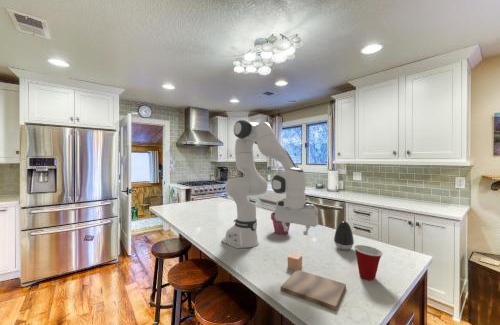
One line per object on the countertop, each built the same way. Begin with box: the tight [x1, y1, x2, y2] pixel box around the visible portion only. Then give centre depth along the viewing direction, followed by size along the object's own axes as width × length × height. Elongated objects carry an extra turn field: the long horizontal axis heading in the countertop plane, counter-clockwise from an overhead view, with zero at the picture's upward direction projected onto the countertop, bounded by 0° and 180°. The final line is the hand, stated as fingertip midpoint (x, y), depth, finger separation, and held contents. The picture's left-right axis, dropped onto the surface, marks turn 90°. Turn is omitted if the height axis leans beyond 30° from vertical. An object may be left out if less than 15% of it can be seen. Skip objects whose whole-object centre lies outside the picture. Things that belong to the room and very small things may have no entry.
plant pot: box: [270, 211, 291, 235], centre depth 153 cm, size 14×14×13 cm
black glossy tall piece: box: [333, 220, 355, 251], centre depth 126 cm, size 10×10×15 cm
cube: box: [287, 252, 303, 271], centre depth 104 cm, size 5×5×5 cm
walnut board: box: [280, 269, 347, 312], centre depth 86 cm, size 20×16×2 cm
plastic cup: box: [353, 244, 384, 281], centre depth 95 cm, size 11×11×12 cm
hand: (295, 232), depth 104 cm, fingers open, 8 cm apart
